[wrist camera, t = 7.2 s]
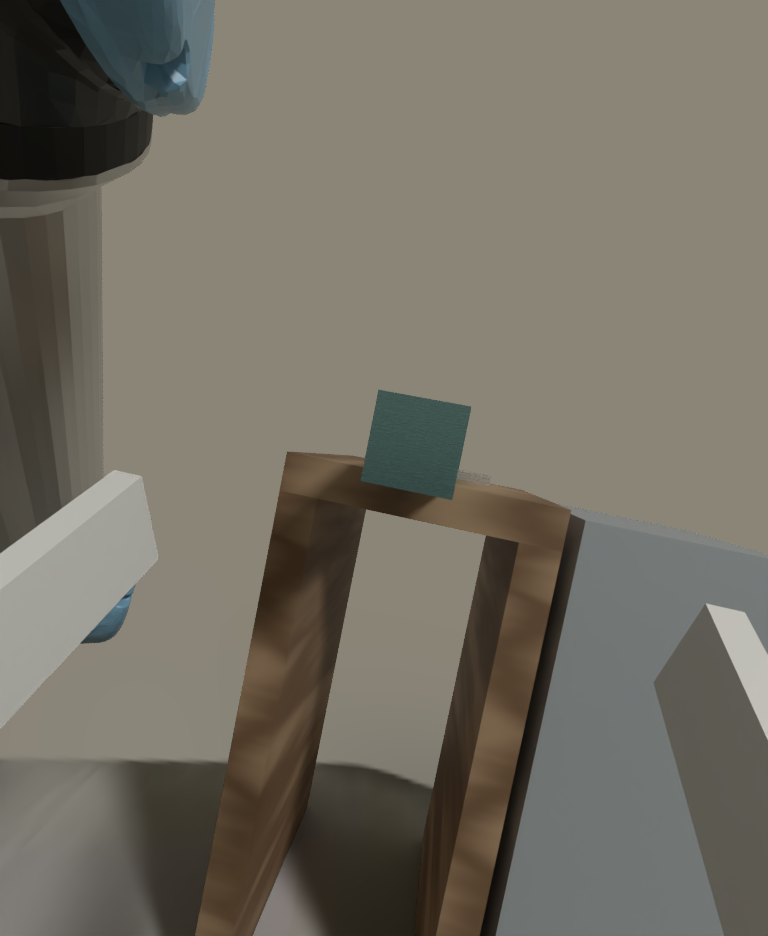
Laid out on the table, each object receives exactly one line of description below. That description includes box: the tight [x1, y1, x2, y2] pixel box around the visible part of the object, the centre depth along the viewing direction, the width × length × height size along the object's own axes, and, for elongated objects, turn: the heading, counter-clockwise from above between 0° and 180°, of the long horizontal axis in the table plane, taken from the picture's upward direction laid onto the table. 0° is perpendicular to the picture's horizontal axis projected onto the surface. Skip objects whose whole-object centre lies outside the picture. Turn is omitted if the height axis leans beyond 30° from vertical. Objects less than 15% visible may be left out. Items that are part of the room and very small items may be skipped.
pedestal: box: [480, 504, 768, 936], centre depth 29 cm, size 11×13×30 cm
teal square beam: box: [361, 390, 490, 500], centre depth 27 cm, size 8×26×3 cm, turn 172°
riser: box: [195, 452, 571, 936], centre depth 32 cm, size 14×16×30 cm
